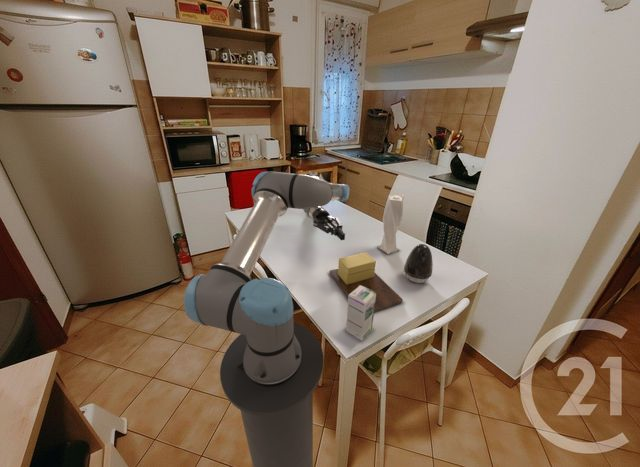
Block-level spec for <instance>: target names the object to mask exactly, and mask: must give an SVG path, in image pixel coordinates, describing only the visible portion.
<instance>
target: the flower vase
mask: <svg viewBox="0 0 640 467" xmlns="http://www.w3.org/2000/svg"><path fill="white" fill-rule="evenodd" d="M308 173H309V174H307V172H305V173H304V175H308V176H313V177H318V178H319V179H321V180H325V179H324V177H323V175H322V172H320V173H319V176H318V172H317V171H315V172H313V171H312V170H308Z"/></svg>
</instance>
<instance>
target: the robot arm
mask: <svg viewBox="0 0 640 467" xmlns="http://www.w3.org/2000/svg"><path fill="white" fill-rule="evenodd" d="M308 175H309V174H306V175H305V174H301V173H300V174H299V173H291V172H290V173H289V172H280V171H274V170H270V171H261V172H260V173H258V174H257V175H256V177H255V178H254V180H253V182H252V187H251V197H252V202H253V205H252V208H251V209H250V211H249V213H248V215H247V216H246V218H245V219H244V221H243V223H242V224H241V226H240V228H239V230H238V231H237V233H236V235H235V237H234V239H233V240H232V242H231V244H230V245H229V248H228V249H227V250H226V252H225V254H224V256H223V258H222V259H221V261H220V262H218V263H214V264H212V265H211V267H210V268H209V270H208V271H207V273H206V274H205V273H201V274H197V275H195V276H194V277H193V278H192V279H191V280H190V281H189V283H188V284H187V287H186V289H185V292H184V296H183V303H184V304H183V309H184V312H185V315H186V316H187V318H188V319H189V320H190V321H192V322H195V323H198V324H201V325H202V326H209V327H212V328H216V329H220V330H224V331H227V332H231V333H236V334H239V335H241V334H243V335H246V338H247V345H246V348H245V352H244V356H243V362H242V363H241V364H239V365H237V368H240V367H241V366H244V370H245V373H246V375H247V377H248V378H249V379H250V380H251V381H252V382H254V383H256V384H258V385H261V386H276V385H280V384H282V383H284V382H286V381H288V380H289V379H291V378H292V377H293V376H294V375H295V374H296V372H297V371H298V369H299V367H300V365H301V360H302V352H301V347H300V344H299V342H298V340H297V338H296V337H295V335H294V325H293V322H294V303H293V296H292V294H291V290H289V288H288V286H287V285H286V284H285V283H283V282H282V281H280V280H278V279H275V278H271V277H260V279H259V278H254V279H252V278H251V275H252V273H253V271H254V269H255V267H256V265H257V262H258V261H259V258H260V257H261V254H262V251H263V250H264V248H265V245H266V244H267V242H268V239H269V238H270V235H271V233H272V231H273V229H274V227H275V225H276V223H277V221H278V219H279V217H283V216H284V215H286V213H287V211H288V209H297V210H303V212H304V213H305V214H306V215H307V216H308V217H309V218H310V219H311V220H312V221H313V223H312V226H313V227H315V228H317V229H319V230H321V231H322V232H324V233H326V234H330V235H331V236H335V237H337V238H338V239H339V240H340V241H345V240H346V233H345V232H344V231H343V224H342V222H341V221H340V217H339V216H335V217H333V216H332V215H331V214H330V213H329V211H327V210H326V209H325V208H324V207H323V206H327V205H328V204H329V203H330V202H334V201H344V202H345V201H348V200H349V198H350V191H351V190H350V186H349V185H348V184H344V183H332V182H329V181H327V180H325V179H323V180H321V179H319V178H318V177H319V176H316V177H313V176H308Z"/></svg>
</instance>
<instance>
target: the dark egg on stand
mask: <svg viewBox="0 0 640 467" xmlns="http://www.w3.org/2000/svg"><path fill="white" fill-rule="evenodd" d="M433 263H434V262H433V254H432V251H431V249H430V247H429V246H428V245H427V244H424V243H419V244H417V245H416V246H414V247H413V249H412V250H411V252H409V254H408V256H407V258H406V260H405V263H404V266H403V271H404V275H405V276H406V278H407V279H408V280H409V281H411V282H412V283H416V284H421V283H425V282H427V281H428V280H429V279H430V278H431V276H432V275H433V268H434V266H433Z"/></svg>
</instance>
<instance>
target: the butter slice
mask: <svg viewBox="0 0 640 467" xmlns="http://www.w3.org/2000/svg"><path fill="white" fill-rule="evenodd" d="M376 262H377V261H376V260H375V259H374V258H373V257H372V256H371V255H370V254H368V252H360V253H357V254H356V253H355V254H352V255H348V256H343V257H340V258H338V266H340V267H341V269H342V270H343V271H344V272H345V273H346V274H347V275H350V274H354V273H357V272H361V271H365V270H369V269H372V268H375V269H376Z"/></svg>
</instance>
